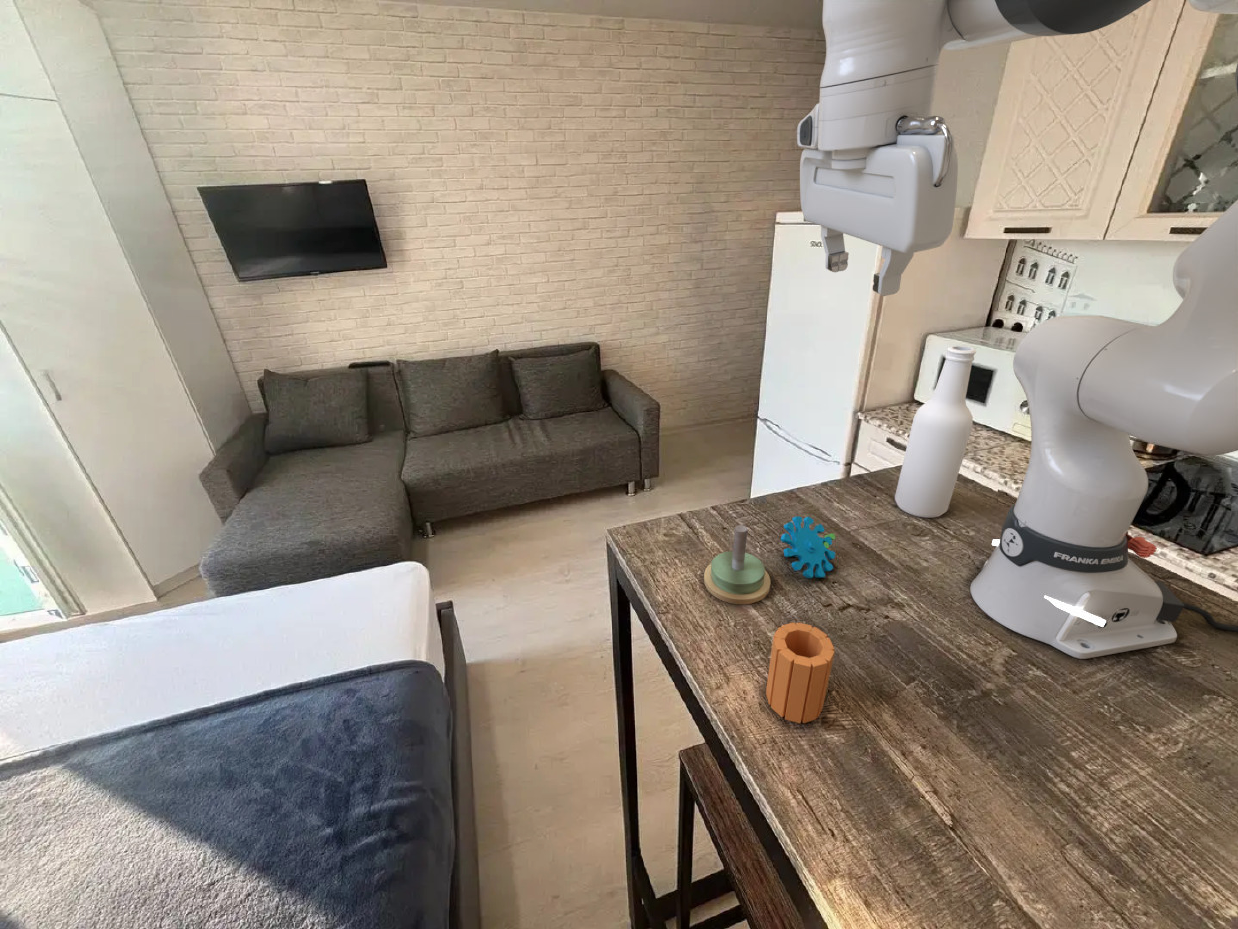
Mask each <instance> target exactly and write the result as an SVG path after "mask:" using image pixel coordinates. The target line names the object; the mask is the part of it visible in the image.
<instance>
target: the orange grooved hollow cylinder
mask: <svg viewBox="0 0 1238 929" xmlns="http://www.w3.org/2000/svg"><path fill="white" fill-rule="evenodd" d="M770 652H771V653H770V661H769V666H768V674H767V680H766V681H767V682H766V691H765V696H766V699H767V702H768V705H769V706H770V708H771V709H772V710H773V711H774V713H776V714H777V715H778V716H780V718H784V720H786V721H789V722H793V723H797V724H801V723H802V724H806V723H809V722H812V721H815V720H817V719H818V718H819V717H820V715H821V712H822V711H823V709H824V705H825V700H826V695H827V691H828V686H829V680H830V676H831V672H832V666H833V662H834V657H835V647H834V645H833V642H832V640H831V638H830V637H829V636H828V634H826V633H825V632H824V631H822V630H821V629H819V628H818V627H817V626H813V625H811V624H808V623H802V622H798V621H797V622H796V623H795V622H794V621H793V622H789V623H786V624H782V625H781V626H778V628H777V630H776V631H775V633H774V634H773V637H772V644H771V651H770Z"/></svg>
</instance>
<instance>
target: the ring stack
mask: <svg viewBox="0 0 1238 929" xmlns="http://www.w3.org/2000/svg"><path fill="white" fill-rule="evenodd" d="M733 532H734V534H733V544H732V545H733V546H732V550H729V551H724V552H721V553H719V554H717V555H716V556H714V558H713V559H712V560H711V562H710V563H709V564H708V565H707V567H705V570H704V572H703V583H704V585H705V588H706V590H707V591H708V593H709V594H711V595H712V596H713V597H714V598H716V599H718V600H720V601H723V602H726V603H728V604H733V605H751V604H755V603H758V602H760V601H761V600H763V599H765V598H766V597H767V595H768V594H769V593H770V590H771V577H770V574H769V573H768V572H767V570H766V568H765V565H764V563H763V562H762V560H760V559H759V558H758V557H757V556H755V555H754V554H751V553H748V552H746V550H747V549H746V548H747V538H748V527H747V526H746V525H744V524H738V525H735V526H734V531H733Z"/></svg>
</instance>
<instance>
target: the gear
mask: <svg viewBox="0 0 1238 929" xmlns="http://www.w3.org/2000/svg"><path fill="white" fill-rule="evenodd" d="M814 522H815V521H814V519H813V518H812V517H810V516H806V517H804V518H803V517H802V516H800V515H799V516H794V517H792V520H791V521H789V522H787V523H785V524H784V525H783V529H785V531H786V532H784V533H783V534H781V537H780V542H782V543H784V544H786V545H789V546H790V547H787V548H784V549H783V555H784V557H785V558H791V557H795V558H798V560H796V561H793V562H792V563H791V568H792V569H793V570H794V571H795V572H797V571H800V570H802V568H803V566H804V565H806V566H807V569H805V570H803V572H802V576H803V577H805V578H806V579H808V580H809V579H812V578H813V577H815V578H816V579H822V578H825V577H826V572H830V571H832V570H833V569H834V566H833V564H832V563H831V562H830V561H832V560H835V558H836V552H835V551H834V550H830V549H829V548H830V546H831V545H833V540H835V539H836V534H835V533H833V532H832V533H829V534H826V535H824V537H821V536H820V535H819V534H821V533H824V532H825V528H824V526H823V524H822V523H820V524H817V525H815V526H814V528H813V530H812V529H811V528H810V526H811V525H813V524H814ZM802 523H803V527H802ZM814 568H815V571H814Z"/></svg>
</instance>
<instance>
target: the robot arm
mask: <svg viewBox="0 0 1238 929" xmlns="http://www.w3.org/2000/svg"><path fill="white" fill-rule="evenodd" d="M1151 1H1152V0H822V14H821V16H822V18H821V20H822V21H821V22H822V30H823V33H824V39H825V58H824V59H825V60H824V65H823V69H822V73H821V75H820V76H821V77H820V83H819V97H818V98H819V101H818V103H816V104H815V106H813V108H812V110H811V111H810V112H809V113H808V114H807V115H805V117H803V119H802V120H800V122H799V123H798V124H797V128H796V129H797V130H796V142H797V146H798V147H799V148H803V150H802V152H801V155H800V159H799V160H800V161H799V162H800V163H799V195H800V196H799V198H800V209H801V212H802V215H803V218H804V221H805V222H807V223H811V224H815V225H817V226H820V238H821V241H822V246H823V250H824V253H825V269H826V270H828V271H830V272H832V273H838V272H843V271H846V270H847V268H848V265H849V261H848V260H849V252H847V251H846V248H845V239H844V238H845V236H844V235H847V236H850V237H854V238H856V239H860V240H863V241H866V242H868V243H871V244H875V245H877V246H880V247H881V248H882V249H881V258H882V259H884V261H883V263H882V266H881V269H880V271H879V272H877V273H873V280H872V282H873V285H872V292H874V293H876V294H879V295H880V296H883V297H887V296H891V295H895V294H897V293H898V292H899V291H900V288H901V281H902V274H904V272H905V270H906V268H907V267H908V265H909V264H910V262H911V260H912V259H913V258H914V256H915V255H914V254H915V253H919V252H925V251H927V250H932V249H937V248H939V247H942V246H943V245H944V243H945V242H946V241H947V240H948V238H949V237H950V235H952V234H951V233H952V232H953V228H954V221H955V213H956V212H955V211H956V202H957V189H958V175H959V173H958V172H959V170H958V169H959V168H958V167H959V165H958V163H959V162H958V154H957V150H956V148H955V136H954V134H953V133H951V130H950V128H949V126H948V125H947V124H946V119H945V118H944V117H942V116H940V115H933V106H934V101H935V100H934V99H935V94H936V93H935V92H936V86H937V78H938V71H939V66H940V65H939V63H940V56H941V52H942V50H947V51H953V52H957V51H958V52H961V51H970V50H971V51H972V50H977V49H982V48H986V47H994V46H998V45H1004V44H1010V43H1014V42H1015V43H1016V42H1020V41H1025V40H1030V39H1036V38H1041V37H1055V36H1057V37H1058V36H1069V35H1071V36H1072V35H1081V34H1086V33H1091V32H1094V31H1097V30H1101V29H1103V28H1106V27H1108V26H1111V25H1112V24H1114V23H1117V22H1118V21H1120V20H1121V19H1123V18H1125V17H1127V16H1129V15H1130V14H1132V13H1133V12H1135V11H1136V10H1138V9H1140V8H1141V7H1143V6H1145V5H1146V4H1148V3H1149V2H1151ZM1187 3H1188V5H1189V6H1190V7H1191V8H1192V9H1194V10H1196V11H1198V12H1205V13H1211V14H1221V15H1222V14H1223V15H1238V0H1187ZM1234 85H1235V89H1236V94H1237V95H1238V63H1237V65H1236V68H1235V73H1234ZM1172 283H1173V286H1174V289H1175V291H1176V292H1177V294H1178V295H1179V297H1180V298H1181V299H1182V301H1181V302H1180V304H1179V305H1178V307H1177V308H1176V309H1175V311H1174V312H1173V313H1172V314H1171V315H1170V316H1169V317H1168V319H1166V320H1164V321H1163V322H1161V323H1160V324H1156V325H1148V324H1144V323H1139V322H1134V321H1129V320H1124V319H1119V318H1115V317H1110V316H1106V315H1105V316H1104V315H1061V316H1055V317H1051V318H1048V319H1046V320H1044V321H1042V322H1041V323H1039V324H1037V325H1036V326H1034V327H1033V328H1032V329H1031V330H1030V331H1028V333H1027V334H1026V335H1025V336H1024V337H1023V338H1022V340H1021V341H1020V342H1019V344H1018V345H1017V347H1016V350H1015V353H1014V356H1013V361H1012V368H1013V374H1014V376H1015V378H1016V379H1017V381H1018V383H1019V384H1020V386H1021V388H1022V390H1023V393H1024V395H1025V397H1026V401H1027V406H1028V413H1029V420H1030V436H1031V438H1030V439H1031V440H1030V454H1029V455H1030V456H1029V460H1028V464H1027V467H1026V471H1025V474H1024V477H1023V479H1022V480H1023V481H1022V483H1021V486H1020V489H1019V493H1018V495H1017V499H1016V502H1015V503H1013V504H1011V506H1010V508H1009V509H1008V512H1007V514H1006V517H1005V519H1004V521H1003V523H1002V527H1001V532H1000V538H999V539H992V543H991V545H992V546H995V547H994V549H993V551H992V553H991V555H990V556H989V558H988V559H987V560H986V561H985V562H984V564H983V566H982V569H981V571H980V572H979V573H978V575H976V577H975V578H974V579H973V580H972V581H971V583H970V588H969V590H970V595H971V597H972V599H973V601H974V602H975V603H976V605H978V607H979V609H981V610H982V611H983V612H984V613H985V614H986V615H987V616H989V617H990V619H993V620H994V621H996V622H997V623H999V624H1000V625H1002V626H1004V627H1006V628H1008V629H1009V630H1011V631H1013V632H1015V633H1018V634H1020V635H1022V636H1025V637H1027V638H1031V639H1033V640H1037V641H1038V642H1039V641H1040V642H1042V643H1045V644H1048V645H1049V646H1051V647H1053V648H1055V649H1057V650H1058V651H1061V652H1063V653H1064V654H1066V655H1068V656H1070V657H1073V658H1075V659H1080V660H1086V659H1092V658H1098V657H1102V656H1109V655H1113V654H1119V653H1125V652H1131V651H1137V650H1142V649H1147V648H1153V647H1157V646H1163V645H1170V644H1173V643H1175V642H1176V640H1177V639H1178V633H1177V631H1176V629H1175V627H1174V626H1173V624H1172V623H1176V621H1177V619H1178V618H1179V616H1180V614H1181V613H1182V612H1183V610H1188V611H1190V612H1193V613H1196V614H1197V615H1200V616H1201V617H1202V618H1203V619H1204V620H1205V622H1206V623H1207V624H1208V625H1210V626H1211V627H1213V628H1215V629H1219V630H1221V631H1227V632H1233V633H1234V632H1235V633H1236V632H1237V633H1238V625H1231V624H1225V623H1221V622H1218V621H1216V620H1215V619H1214V617H1213V616H1212V615H1211V613H1210V612H1208V611H1206V610H1205V609H1203V608H1201V607H1199V606H1196V605H1195V604H1194V605H1193V604H1191V603H1187V602H1183V601H1181V600H1180V599H1179V598H1178V597H1177V596H1176V595H1175V594H1174V592H1172V591H1171V590H1170V589H1169V587H1167V586H1166V585H1165V584H1164V582H1162V581H1157V580H1154V579H1152V578H1151V577H1150V576H1149V575H1148V574H1147V573H1146V572H1145V571H1144V570H1142V569H1141V568H1140V567H1139V566H1138V565H1137V564H1135V562H1134V561H1132V560H1131V559H1130V558H1129V551H1133V553H1134V554H1136V555H1137V556H1138V557H1139V558H1142V559H1147V558H1150V557H1151V556H1153V555H1155V553H1157V549H1158V548H1157V545H1156V544H1154V543H1152V542H1150V541H1147V540H1146V538H1144V537H1142V536H1134V537H1133V536H1132V535H1131V534H1129V529H1130V527H1131V526H1132V523H1133V521H1134V519H1135V517H1136V515H1137V513H1138V511H1139V509H1140V506H1141V505H1142V503H1143V501H1144V499H1145V497H1146V495H1147V492H1148V491H1149V490H1148V489H1149V477H1148V473H1147V470H1146V469H1145V467H1144V466H1143V464H1142V463H1141V461H1140V459H1139V457H1137V454H1135V452H1134V450H1133V446H1132V444H1131V438H1130V436H1131V437H1134V438H1136V439H1139V440H1141V441H1143V442H1146V443H1148V444H1151V445H1156V446H1158V447H1159V446H1160V447H1165V448H1169V449H1172V450H1177V451H1183V452H1188V453H1193V454H1198V455H1204V456H1221V455H1227V454H1230V453H1234V452H1238V199H1237V200H1236V201H1234V202H1233V203H1232V204H1231V206H1229V207H1228V208H1227V209H1226V210H1225V211H1224V212H1223V213H1222V214H1221V215H1220V216H1219V217H1218V218H1217V219H1215V220H1214V221H1213V222H1212V223H1211V224H1210V225H1209V226H1208V227H1206V229H1205V230H1203V231H1202V232H1201V233H1200V234H1199V235H1198V236H1197V237H1196V238H1195V239H1194V240H1193V241H1192V242H1191V243H1189V245H1188V246H1187V247H1185V248H1184V249H1183V250H1182V251H1181V252H1180V254H1179V255H1178V256H1177V258H1176V260H1175V261H1174V264H1173V267H1172Z"/></svg>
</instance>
